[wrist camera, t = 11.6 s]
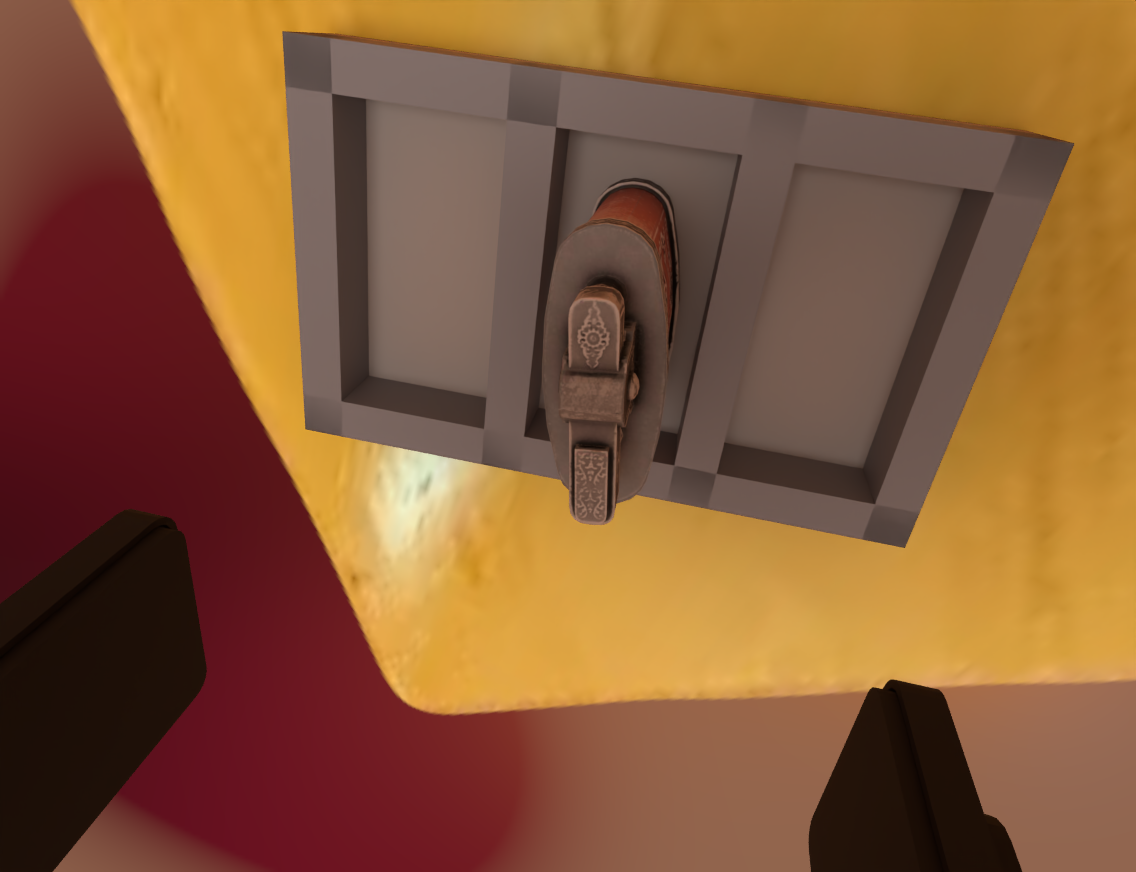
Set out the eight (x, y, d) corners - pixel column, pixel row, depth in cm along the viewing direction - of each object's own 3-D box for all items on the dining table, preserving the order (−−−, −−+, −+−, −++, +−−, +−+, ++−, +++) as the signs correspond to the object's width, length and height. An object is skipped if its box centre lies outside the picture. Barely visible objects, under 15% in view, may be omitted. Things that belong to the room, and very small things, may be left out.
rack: (1026, 131, 23) (1074, 143, 20) (885, 495, 29) (904, 547, 26) (335, 33, 25) (282, 31, 22) (345, 392, 32) (305, 429, 28)
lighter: (585, 176, 25) (513, 245, 16) (687, 178, 24) (670, 250, 16) (584, 396, 28) (525, 549, 20) (672, 402, 28) (652, 562, 19)
